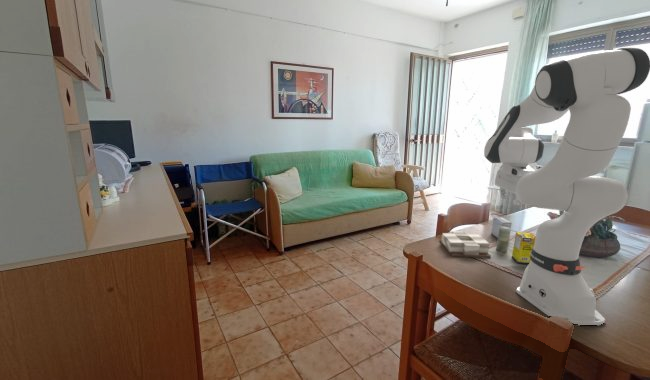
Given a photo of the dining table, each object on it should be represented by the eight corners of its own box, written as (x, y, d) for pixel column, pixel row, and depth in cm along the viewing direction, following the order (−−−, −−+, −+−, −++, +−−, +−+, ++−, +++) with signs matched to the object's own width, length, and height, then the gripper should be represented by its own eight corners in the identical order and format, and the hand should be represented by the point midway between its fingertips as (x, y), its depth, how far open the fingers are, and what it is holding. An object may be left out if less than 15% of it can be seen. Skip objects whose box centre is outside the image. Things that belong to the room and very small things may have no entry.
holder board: (491, 257, 120) (492, 246, 119) (452, 256, 120) (453, 245, 119) (473, 241, 135) (475, 231, 134) (439, 241, 136) (440, 230, 135)
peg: (508, 252, 125) (512, 229, 123) (499, 251, 125) (502, 229, 123) (503, 248, 129) (507, 226, 127) (494, 247, 129) (497, 226, 127)
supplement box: (534, 265, 114) (539, 238, 111) (517, 263, 115) (522, 237, 113) (527, 258, 120) (532, 233, 117) (511, 257, 121) (515, 231, 118)
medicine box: (509, 240, 138) (512, 222, 136) (499, 240, 138) (502, 222, 136) (500, 233, 145) (502, 217, 143) (490, 233, 145) (493, 216, 143)
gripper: (493, 164, 129) (489, 194, 132) (521, 172, 109) (515, 208, 113) (508, 164, 129) (503, 195, 132) (539, 173, 109) (532, 209, 112)
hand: (509, 201), depth 122 cm, fingers open, 8 cm apart
